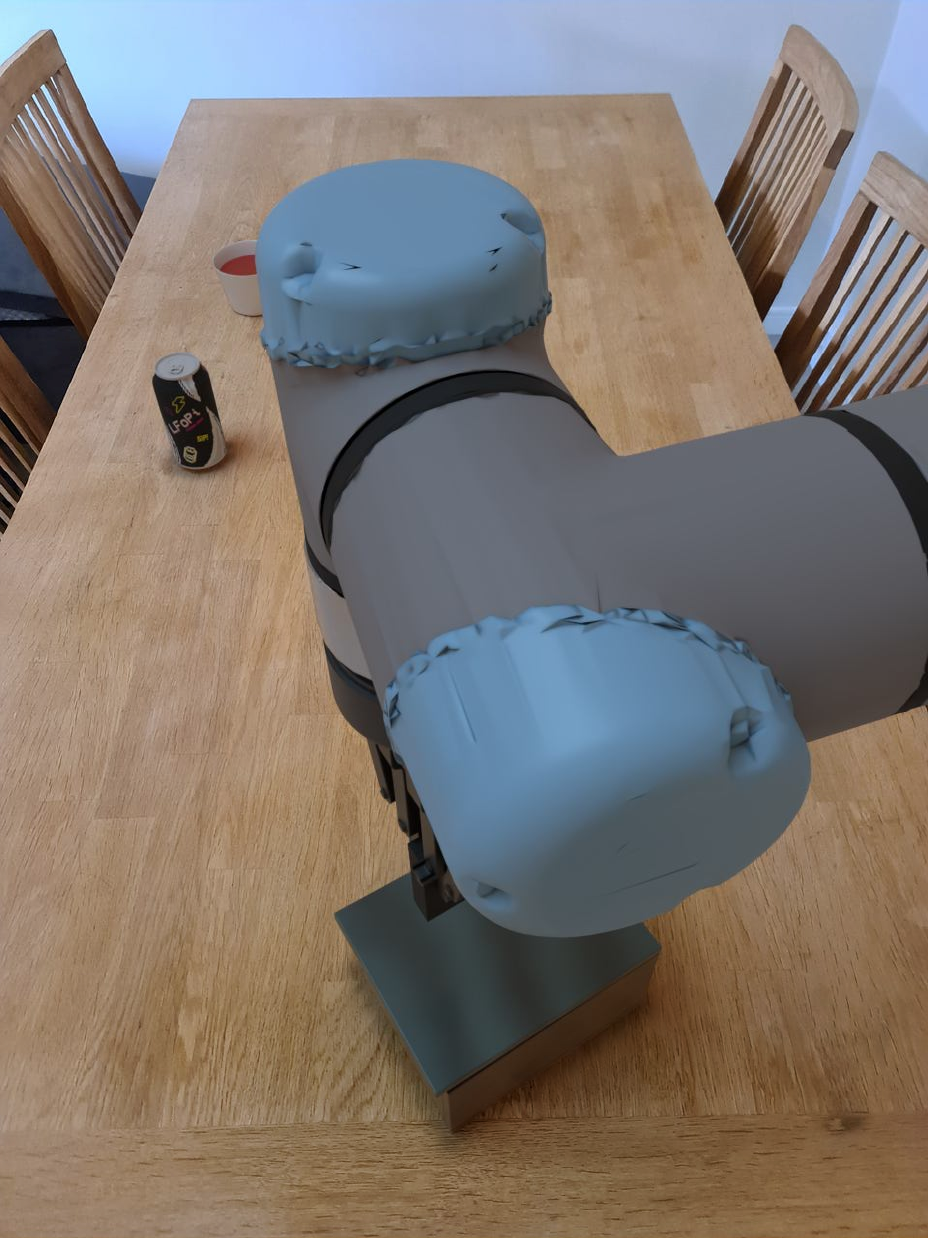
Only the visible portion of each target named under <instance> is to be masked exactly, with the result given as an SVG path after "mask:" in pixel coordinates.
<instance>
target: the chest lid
mask: <svg viewBox="0 0 928 1238" xmlns="http://www.w3.org/2000/svg"><path fill="white" fill-rule="evenodd" d="M333 917H334V921H335V922H336V924H337V926H338V928H339V929H340V932H341V933H342V935H343V937H344V938H345V940H346V942H347V944H348V946H349V947H350V950H351V951H352V952H353V954H354V956H355V958H356V960H358V961H359V963H360V965H361V967H362V968H363V970H364V972H365V974H366V976H367V977H368V979H369V981H370V983H371V984H372V986H373V988H374V990H375V992H376V993H377V995H378V997H379V999H380V1001H381V1002H382V1004H383V1006H384V1008H385V1009H386V1011H387V1013H388V1015H389V1017H390V1018H391V1020H392V1022H393V1024H394V1025H395V1027H396V1029H397V1031H398V1033H399V1034H400V1036H401V1038H402V1040H403V1042H404V1043H405V1045H406V1047H407V1049H408V1050H409V1052H410V1054H411V1056H412V1058H413V1059H414V1061H415V1063H416V1065H417V1066H418V1068H419V1070H420V1072H421V1074H422V1075H423V1077H424V1079H425V1081H426V1083H427V1084H428V1086H429V1088H430V1090H431V1091H432V1093H433V1095H434V1097H435V1098H438V1097H439V1096H441V1095H442V1094H444V1093H445V1092H447V1091H448V1090H450V1089H452V1088H453V1087H455V1086H456V1085H458V1084H459V1083H461V1082H462V1081H464V1080H465V1079H467V1078H468V1077H470V1076H471V1075H473V1074H475V1073H476V1072H478V1071H479V1070H481V1069H482V1068H484V1067H485V1066H487V1065H488V1064H490V1063H491V1062H493V1061H494V1060H496V1059H498V1058H499V1057H501V1056H502V1055H504V1054H505V1053H507V1052H508V1051H510V1050H511V1049H513V1048H514V1047H516V1046H517V1045H519V1044H521V1043H522V1042H524V1041H525V1040H527V1039H528V1038H530V1037H531V1036H533V1035H534V1034H536V1033H537V1032H539V1031H540V1030H542V1029H544V1028H545V1027H547V1026H548V1025H550V1024H551V1023H553V1022H554V1021H556V1020H557V1019H559V1018H560V1017H562V1016H563V1015H565V1014H567V1013H568V1012H570V1011H571V1010H573V1009H574V1008H576V1007H577V1006H579V1005H580V1004H582V1003H583V1002H585V1001H586V1000H588V999H590V998H591V997H593V996H594V995H596V994H597V993H599V992H600V991H602V990H603V989H605V988H606V987H608V986H609V985H611V984H613V983H614V982H616V981H617V980H619V979H620V978H622V977H623V976H625V975H626V974H628V973H629V972H631V971H632V970H634V969H636V968H637V967H639V966H640V965H642V964H643V963H645V962H646V961H648V960H649V959H651V958H652V957H654V956H655V955H657V954H659V953H660V954H661V951H662V945H661V943H659V941H658V940H657V939H656V938H655V936H654V935H653V934H652V932H651V931H650V930H649V928H648V927H647V926H646V924H645V923H644V921H643V922H640V923H637V924H634V925H631V926H628V927H624V928H621V929H617V930H613V931H608V932H604V933H598V934H593V935H587V936H578V937H544V936H534V935H527V934H522V933H519V932H515V931H512V930H509V929H506V928H504V927H502V926H500V925H498V924H496V923H494V922H493V921H491V920H490V919H488V918H487V917H485V916H484V915H482V914H481V913H480V912H479V911H477V910H476V909H475V908H474V907H473V906H471V905H470V903H469V902H468V901H467V900H464V901H463V902H461V903H459V904H458V905H456V906H454V907H452V908H451V909H449V910H447V911H446V912H444V913H442V914H441V915H439V916H437V917H436V918H434V919H432V920H431V921H429V922H427V920H426V919H425V917H424V916H423V914H422V912H421V911H420V909H419V908H418V906H417V904H416V903H415V901H414V896H413V888H412V879H411V870H410V871H408V872H407V873H404V874H403V875H401V876H399V877H397V878H395V879H394V880H392V881H391V882H388V883H386V884H385V885H383V886H381V887H379V888H377V889H376V890H374V891H372V892H370V893H368V894H366V895H365V896H363V897H361V898H359V899H357V900H355V901H354V902H351V903H350V904H348V905H346V906H344V907H342V908H340V909H339V910H337V911H335V912H334V913H333ZM660 954H659V955H660ZM358 961H357V962H358Z"/></svg>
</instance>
